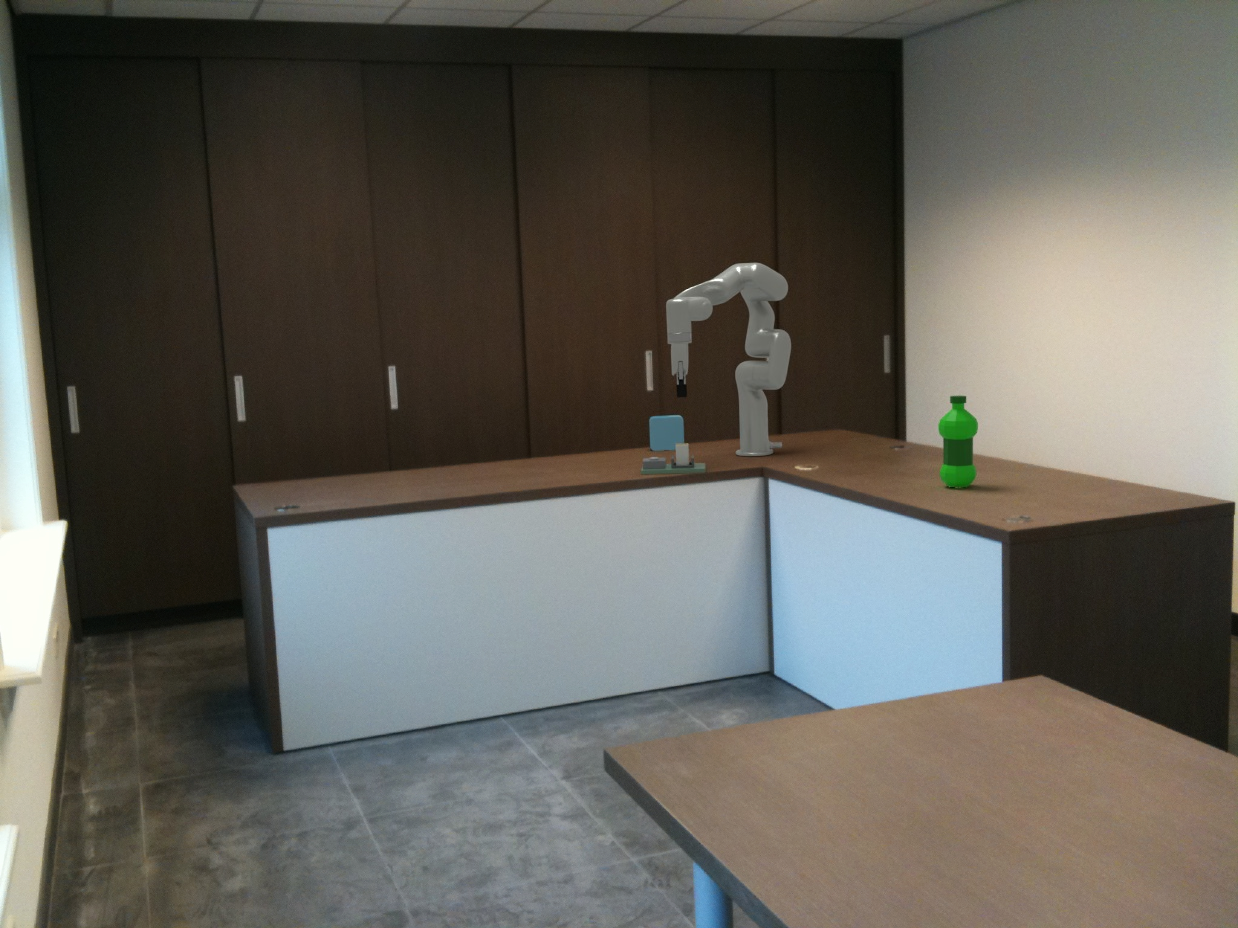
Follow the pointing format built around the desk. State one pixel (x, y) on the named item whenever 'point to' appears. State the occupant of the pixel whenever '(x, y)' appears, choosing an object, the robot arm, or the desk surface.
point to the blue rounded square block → (666, 432)
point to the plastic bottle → (958, 444)
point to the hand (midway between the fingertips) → (681, 397)
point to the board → (670, 466)
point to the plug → (682, 454)
